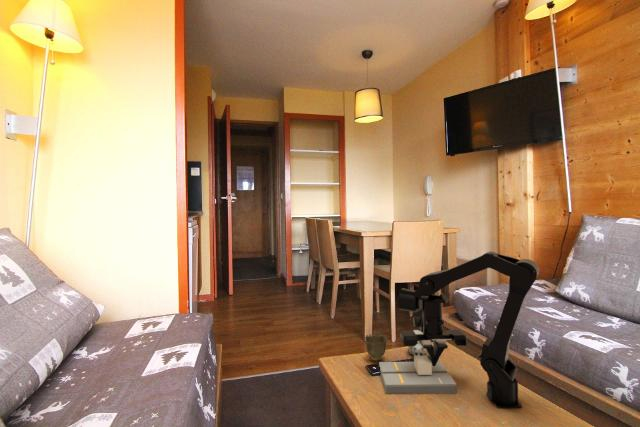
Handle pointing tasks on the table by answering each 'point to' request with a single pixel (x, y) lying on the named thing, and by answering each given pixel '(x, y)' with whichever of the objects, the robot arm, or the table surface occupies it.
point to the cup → (375, 346)
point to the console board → (415, 379)
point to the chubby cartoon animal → (417, 347)
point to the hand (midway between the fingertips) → (433, 365)
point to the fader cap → (423, 365)
